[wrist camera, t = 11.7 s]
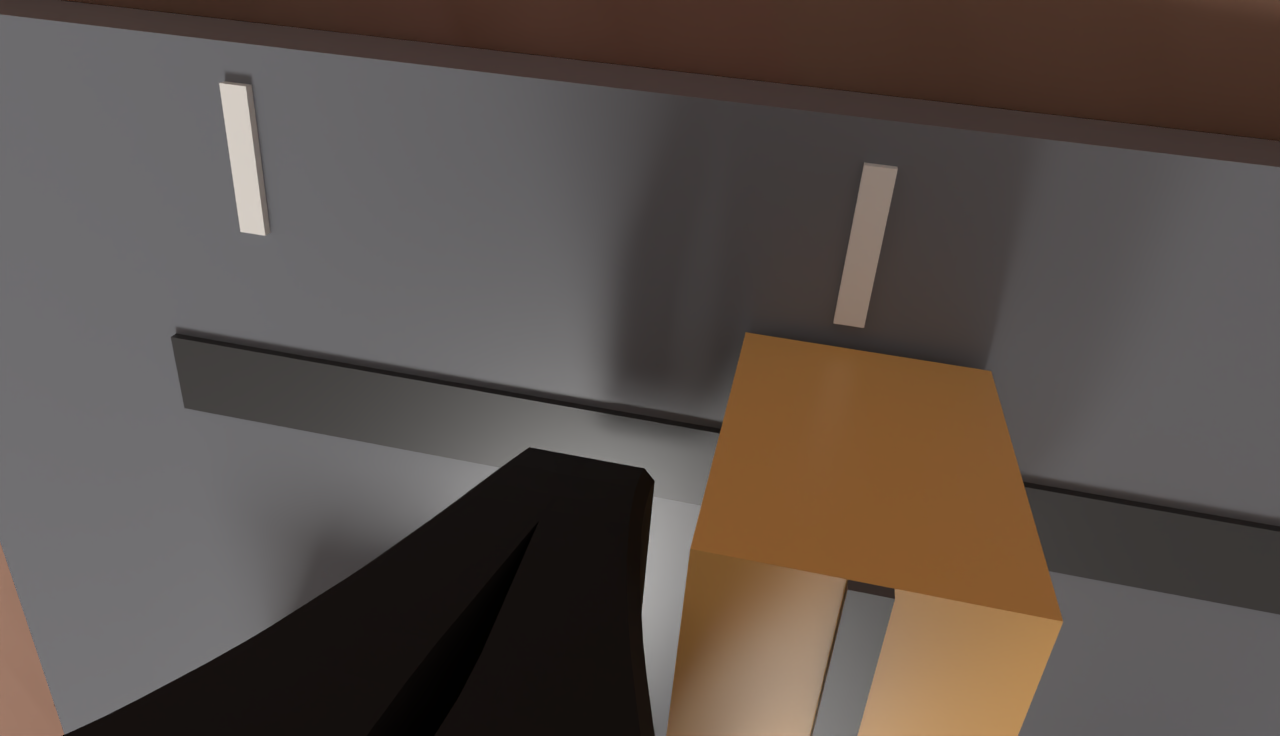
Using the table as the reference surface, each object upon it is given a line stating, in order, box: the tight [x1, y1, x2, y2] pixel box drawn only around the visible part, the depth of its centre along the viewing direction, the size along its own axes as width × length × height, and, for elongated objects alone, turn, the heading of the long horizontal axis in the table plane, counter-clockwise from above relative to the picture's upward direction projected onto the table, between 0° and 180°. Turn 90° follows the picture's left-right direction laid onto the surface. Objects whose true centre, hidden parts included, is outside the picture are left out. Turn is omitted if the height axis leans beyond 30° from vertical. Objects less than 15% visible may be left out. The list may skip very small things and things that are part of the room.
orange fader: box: [666, 332, 1063, 736], centre depth 8 cm, size 4×2×4 cm, turn 176°
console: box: [0, 0, 1280, 736], centre depth 12 cm, size 15×20×1 cm
